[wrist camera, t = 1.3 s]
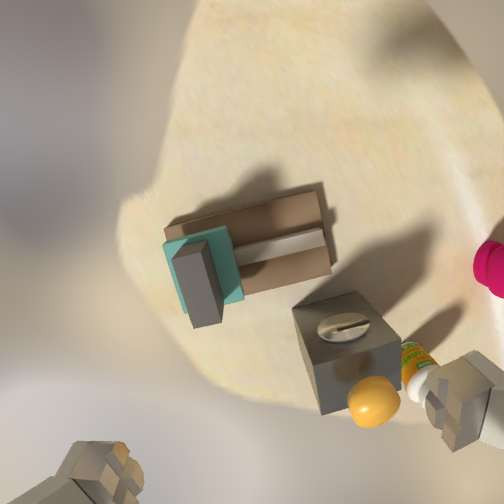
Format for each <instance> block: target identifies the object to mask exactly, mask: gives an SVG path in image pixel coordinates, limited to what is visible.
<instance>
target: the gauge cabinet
mask: <svg viewBox="0 0 504 504" xmlns="http://www.w3.org/2000/svg"><path fill="white" fill-rule="evenodd" d="M292 313H293V317H294V322H295V327H296V331H297V336H298V341H299V345H300V350H301V354H302V357H303V360H304V363H305V366H306V369H307V372H308V375H309V378H310V381H311V384H312V387H313V390H314V393H315V397H316V400H317V403H318V406H319V409H320V412H321V415H325V414H329V413H333V412H336V411H340V410H343V409H346V408H348V405H347V396H348V394H349V392H350V390H351V389H352V388H353V387H354V385H356V384H357V383H358V382H359V381H361V380H363V379H365V378H367V377H370V376H377V375H378V376H384V377H386V378H387V379H388V380H389V381H390V382H391V384H392V385H393V387H394V388H395V390H396V391H399V390H401V382H402V350H401V338H400V337H399V336H398V334H397V333H396V332H395V331H394V330H393V329H392V328H391V327H390V326H389V325H388V324H387V322H386V321H385V320H384V319H383V318H382V317H381V316H380V315H379V314H378V313H377V312H376V311H375V309H374V308H373V307H372V306H371V305H370V304H369V303H368V302H367V301H366V300H365V299H364V298H363V297H362V296H361V295H360V293H359V292H358V291H356V292H352V293H349V294H345V295H341V296H338V297H334V298H330V299H327V300H323V301H319V302H316V303H312V304H308V305H304V306H300V307H296V308H292Z"/></svg>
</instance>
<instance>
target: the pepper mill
mask: <svg viewBox="0 0 504 504" xmlns="http://www.w3.org/2000/svg"><path fill="white" fill-rule="evenodd" d="M473 271H474V276H475V278H476V280H477V281H478V282H479V283H481V284H483V285H485V286H487V287H488V288H489V290H490V291H491V292H492V293H493V294H494V295H495V296H498V297H500V298H504V244H503V245H502V244H500V243H497V242H495V241H488V242H486V243H484V244H483V245H482V246H481V247H480V248H479V250H478V252H477V254H476V256H475V259H474V264H473Z"/></svg>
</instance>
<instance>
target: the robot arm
mask: <svg viewBox="0 0 504 504" xmlns="http://www.w3.org/2000/svg"><path fill="white" fill-rule="evenodd" d="M426 385H427V386H428V388H429V389H430V390H429V392H428V394H427V395H426V397H425V408H426V413H427V416H428V418H429V420H430V422H431V424H432V425H433V426H434V427H435V428H438V429H441V430H443V431H442V439H443V440H444V442H445V443H446V444H447V446H448V447H449V449H450V450H451V451H452V452H455V451H457V450H459V449H461V448H463V447H465V446H467V445H469V444H471V443H472V442H474V441H476V440H478V439H479V441H482V442H484V443H487V444H489V445H492V446H494V447H497V448H500V449H502V450H504V371H503V370H501V369H500V368H499V367H498V366H496V365H495V364H494V363H493V362H491V361H490V360H489V359H488V358H486V357H485V356H484V355H482V354H481V353H480V352H479V351H476V350H473V351H471V352H469V353H467V354H465V355H463V356H461V357H459V358H458V359H456V360H454V361H451V362H449V363H447V364H445V365H443V366H441V367H439V368H436V369H434V370H432V371H430V372H428V374H427V377H426ZM129 452H130V450H129V449H128V448H127V446H126V445H125V444H124V443H123V442H119V441H77V442H75V443H73V445H72V447H71V448H70V450H69V452H68V454H67V455H66V457H65V459H64V461H63V462H62V464H61V466H60V468H59V469H58V471H57V473H56V475H55V477H52V476H51V477H49V478H47V479H46V480H44V481H43V482H41V483H40V484H38V485H37V486H35V487H33V488H32V489H30V490H29V491H27V492H25V493H24V494H22V495H21V496H19V497H18V498H16V499H14V500H13V501H11V502H9V503H8V504H139V501H138V499H137V498H136V496H137V495H138V494H139V493H140V492H141V491H142V490H143V486H144V474H143V471H142V469H141V467H140V465H139V464H138V462H137V461H136V460H134V459H132V458H131V457H129Z"/></svg>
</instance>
